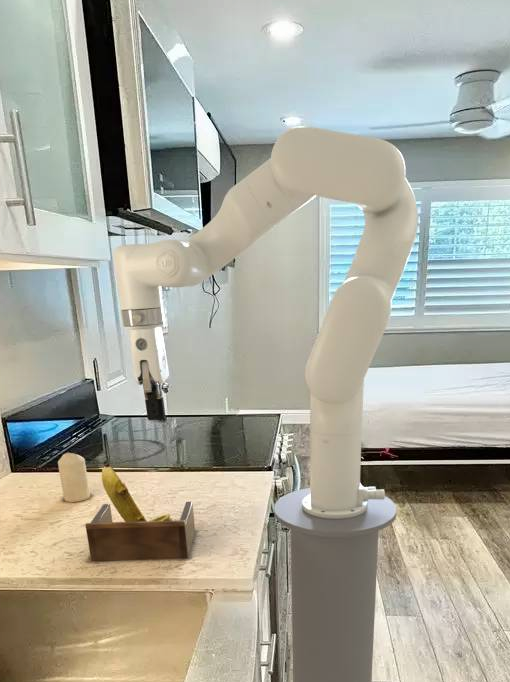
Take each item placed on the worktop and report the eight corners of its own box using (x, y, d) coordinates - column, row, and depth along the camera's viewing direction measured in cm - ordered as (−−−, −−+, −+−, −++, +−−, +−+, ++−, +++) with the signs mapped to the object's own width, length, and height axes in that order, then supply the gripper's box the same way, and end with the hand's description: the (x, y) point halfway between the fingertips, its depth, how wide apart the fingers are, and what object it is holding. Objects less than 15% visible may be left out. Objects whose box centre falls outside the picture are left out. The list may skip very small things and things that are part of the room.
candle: (95, 495, 126) (89, 452, 123) (76, 503, 122) (68, 459, 118) (78, 491, 129) (71, 449, 125) (58, 499, 125) (50, 455, 121)
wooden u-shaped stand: (195, 531, 107) (192, 497, 104) (187, 558, 97) (184, 521, 94) (107, 533, 107) (102, 500, 104) (91, 561, 97) (85, 524, 94)
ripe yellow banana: (104, 548, 101) (92, 468, 95) (116, 530, 108) (106, 454, 103) (169, 547, 101) (160, 466, 95) (176, 528, 108) (169, 452, 103)
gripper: (157, 320, 96) (170, 426, 103) (169, 315, 110) (181, 409, 117) (113, 323, 96) (129, 429, 103) (131, 318, 110) (144, 412, 117)
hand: (156, 418), depth 110 cm, fingers closed
